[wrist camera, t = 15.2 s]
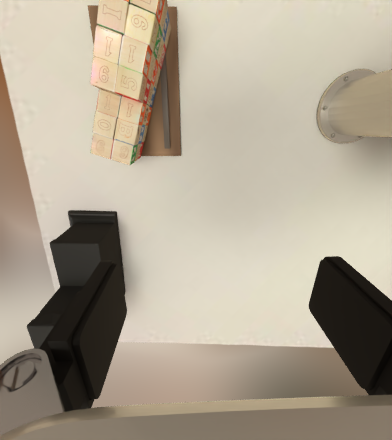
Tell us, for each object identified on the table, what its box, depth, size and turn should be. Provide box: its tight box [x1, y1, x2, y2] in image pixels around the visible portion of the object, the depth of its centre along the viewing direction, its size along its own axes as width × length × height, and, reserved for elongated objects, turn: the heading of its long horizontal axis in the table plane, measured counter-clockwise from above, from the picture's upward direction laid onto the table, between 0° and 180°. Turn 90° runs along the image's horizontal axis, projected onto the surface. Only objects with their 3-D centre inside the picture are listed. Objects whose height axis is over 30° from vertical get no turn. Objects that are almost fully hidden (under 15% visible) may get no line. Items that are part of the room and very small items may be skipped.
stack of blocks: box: [90, 0, 171, 165], centre depth 32 cm, size 21×6×12 cm, turn 162°
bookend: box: [27, 211, 125, 349], centre depth 43 cm, size 23×11×24 cm, turn 178°
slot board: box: [88, 6, 181, 156], centre depth 39 cm, size 14×23×2 cm, turn 0°
